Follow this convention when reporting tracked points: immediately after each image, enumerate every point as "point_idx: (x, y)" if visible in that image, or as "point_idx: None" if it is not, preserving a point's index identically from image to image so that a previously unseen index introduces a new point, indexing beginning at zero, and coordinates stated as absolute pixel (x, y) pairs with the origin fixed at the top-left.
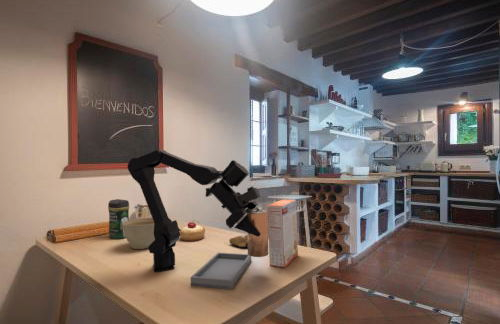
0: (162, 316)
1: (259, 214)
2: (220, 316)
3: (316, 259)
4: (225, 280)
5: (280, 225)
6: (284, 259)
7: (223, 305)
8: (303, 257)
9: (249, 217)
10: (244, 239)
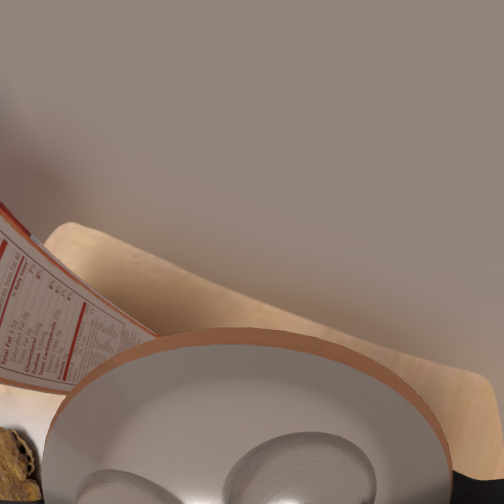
0: (499, 477)
1: (431, 425)
2: (486, 391)
3: (94, 254)
4: None
5: (74, 297)
6: (160, 336)
7: (458, 416)
8: None
9: (477, 499)
10: (12, 483)
